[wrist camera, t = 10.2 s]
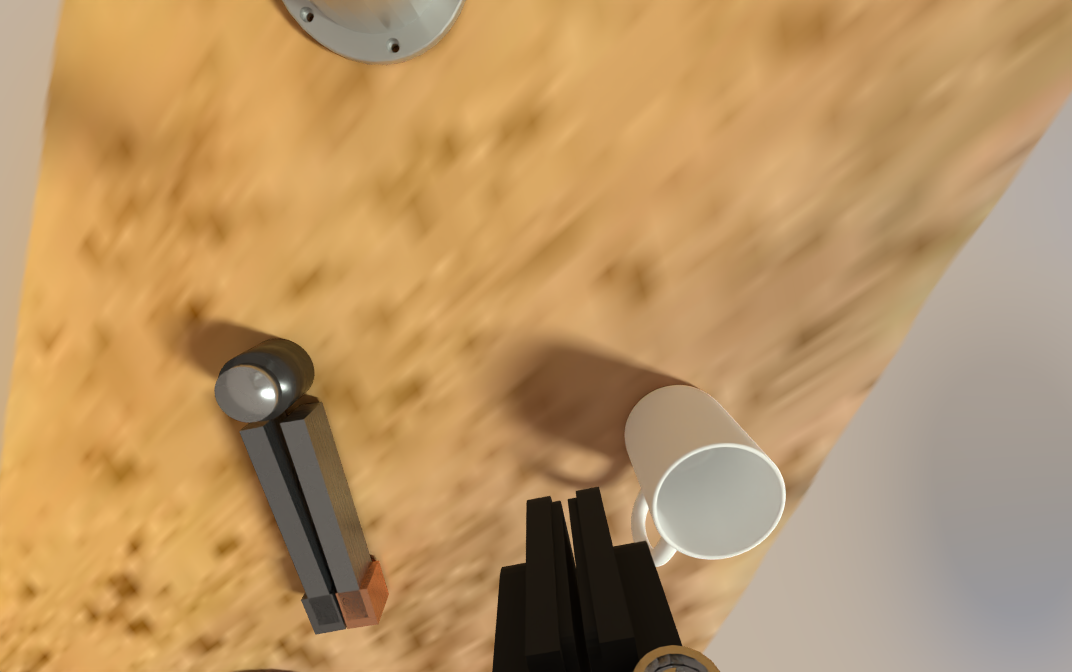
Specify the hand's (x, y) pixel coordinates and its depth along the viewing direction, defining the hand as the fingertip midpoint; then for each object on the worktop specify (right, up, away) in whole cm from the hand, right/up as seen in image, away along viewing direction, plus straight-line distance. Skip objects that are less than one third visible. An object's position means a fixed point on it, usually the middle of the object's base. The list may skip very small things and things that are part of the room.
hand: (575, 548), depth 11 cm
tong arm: (-18, -7, +30) cm, 36 cm away
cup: (+9, -4, +30) cm, 31 cm away
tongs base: (-19, -7, +30) cm, 36 cm away
